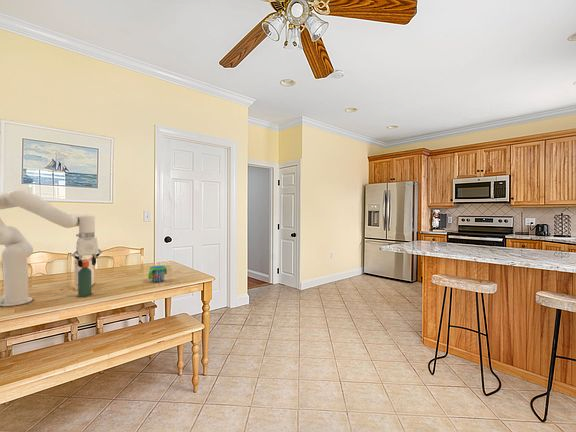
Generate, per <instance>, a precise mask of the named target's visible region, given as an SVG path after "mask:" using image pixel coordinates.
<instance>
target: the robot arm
mask: <svg viewBox="0 0 576 432" xmlns="http://www.w3.org/2000/svg"><path fill="white" fill-rule="evenodd" d="M17 207H18V208H21V209H23V210H26V211H27V212H30V213H31V214H35V215H37V216H39V217H40V218H42V219H45V220H47V221H49V222H51V223H52V224H56V225H57V226H60V227H62V228H66V229H70V228H75V227H76V228H77V227H78V233H76V234H75V237H78V238H77V240H76V246H75V250H74V251H73V252H72V253H70V256H71V257H73V258H74V259H77V260H78V266H79V267H82V260H81V259H82V256H84V255H92V257H93V258H92V265H94V266H96V264H97V259H98V257H100V255H101V254H102V253H103V250H101V249H100V248H99V243H98V239H97V237H95V236H96V234H95V233H96V230H95V229H96V227H95V226H96V225H95V223H96V222H95V219H96V218H95V215H93V214H74V213H67V212H65V211H63V210H61V209H59V208H57V207H55V206H54V205H52V203H50V201H47V200H45V199H42V198H40V197H38V196H37V195H34V194H32V193H31V192H30V191H29V190H28V191H27V190H24V189H13V190H11V191H9V192H4V193H3V192H2V193H0V210H6V209H12V208H13V209H14V208H17ZM0 246H4V248H3V250H2V252H1V263H2V270H3V271H2V272H3V274H2V275H3V295H1V296H0V307H15V306H20V305H24V304H25V305H26V304H28V303H30V302H32V301H33V297H32V296H29V264H28V258H29V257H30V256H32V255H33V252H34V249H33V246H32V244H31V243H30V242H29V240H28V239H27V238H26V237H25V235H24V234H23V233H22V232H21V231H20V230H19V229H18V228H16V227H14V226H11V225H7V224H6V223H5V222H4V221H3V220H2V218H1V217H0Z"/></svg>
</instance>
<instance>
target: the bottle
mask: <svg viewBox="0 0 576 432" xmlns="http://www.w3.org/2000/svg"><path fill="white" fill-rule="evenodd" d="M90 296H92V286H91V270H90V269H89V268H88V267H82V268H81V269H80V270H79V271H78V290H77V297H78V298H85V297H90Z"/></svg>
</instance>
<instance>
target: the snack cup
mask: <svg viewBox="0 0 576 432" xmlns="http://www.w3.org/2000/svg"><path fill="white" fill-rule="evenodd" d="M167 274H168V270H167V266H166V265H152V266H150V267H149V270H148V276H147V277H148V279H150V280H151V282H153V283H160V282H163V281H164V280H165V275H167Z"/></svg>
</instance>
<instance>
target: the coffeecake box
mask: <svg viewBox="0 0 576 432" xmlns="http://www.w3.org/2000/svg"><path fill="white" fill-rule="evenodd" d="M92 258H93V257H92V255H84V256H82V259H81V260H82V262H83V261H89V267H88V268H89V269H90V270H91V287H92V286H93V285H94V284H95V265H92ZM81 268H82V267H79V266H78V260H77V259H76V258H74V291H78V271H79V270H80V269H81Z"/></svg>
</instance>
